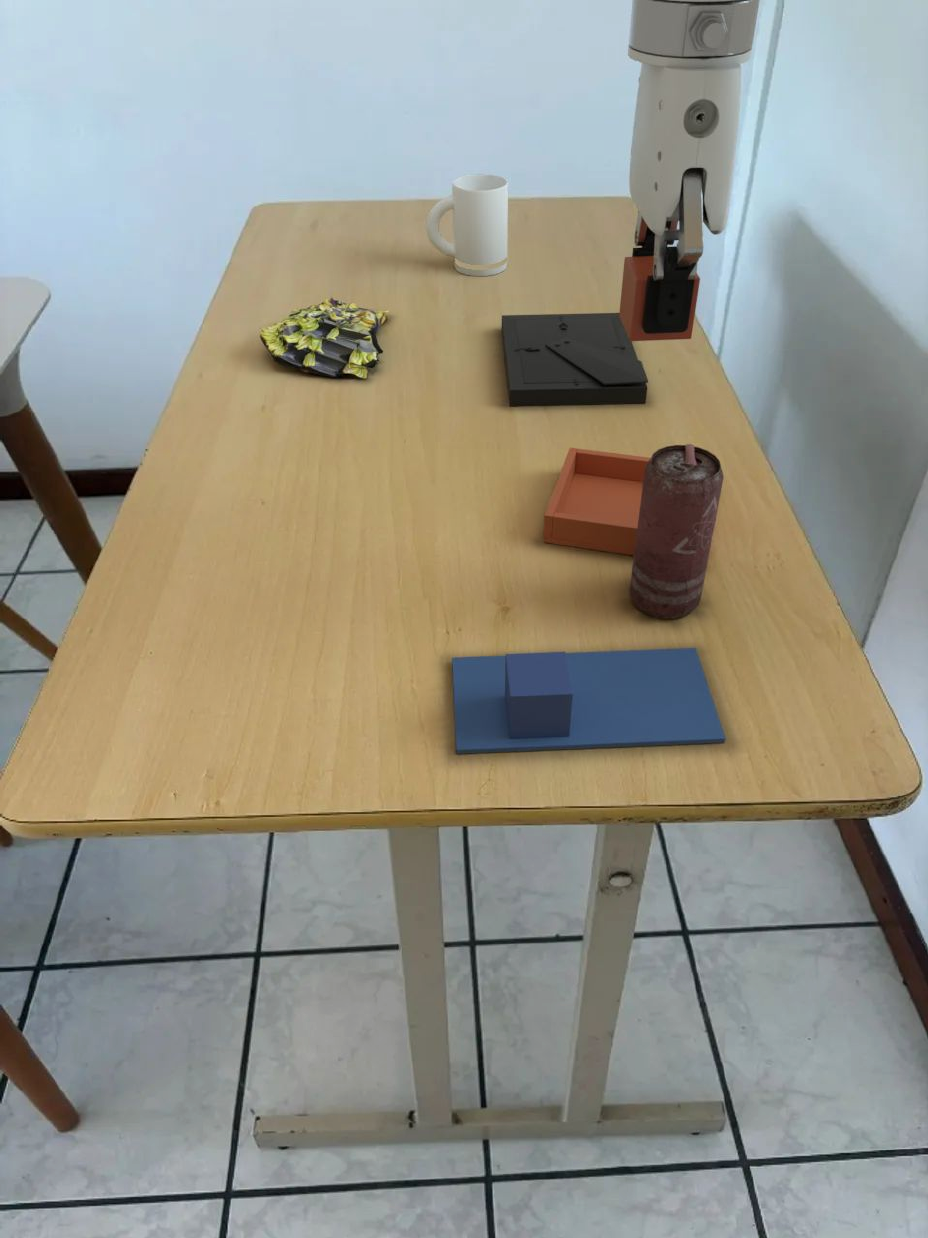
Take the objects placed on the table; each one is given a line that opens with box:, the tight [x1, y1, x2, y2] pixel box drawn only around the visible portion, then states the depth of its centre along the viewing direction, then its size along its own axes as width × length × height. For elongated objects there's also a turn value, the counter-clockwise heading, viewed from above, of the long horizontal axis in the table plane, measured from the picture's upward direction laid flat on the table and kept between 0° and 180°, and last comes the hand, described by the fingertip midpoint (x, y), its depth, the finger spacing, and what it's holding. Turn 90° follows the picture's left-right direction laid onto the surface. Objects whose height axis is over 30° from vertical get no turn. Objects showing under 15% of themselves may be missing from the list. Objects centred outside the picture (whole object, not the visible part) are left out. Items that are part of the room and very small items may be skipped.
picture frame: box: [501, 312, 649, 407], centre depth 118 cm, size 16×3×21 cm
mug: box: [425, 173, 509, 277], centre depth 140 cm, size 8×12×12 cm
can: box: [629, 443, 724, 620], centre depth 80 cm, size 6×6×14 cm
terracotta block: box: [618, 256, 701, 342], centre depth 70 cm, size 4×4×4 cm
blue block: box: [505, 651, 573, 739], centre depth 71 cm, size 4×4×4 cm
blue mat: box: [451, 647, 727, 755], centre depth 75 cm, size 20×10×1 cm, turn 92°
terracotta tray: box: [542, 447, 651, 557], centre depth 93 cm, size 15×13×3 cm
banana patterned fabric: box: [259, 296, 390, 379], centre depth 124 cm, size 20×16×7 cm
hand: (656, 313), depth 70 cm, fingers closed on terracotta block, 4 cm apart
